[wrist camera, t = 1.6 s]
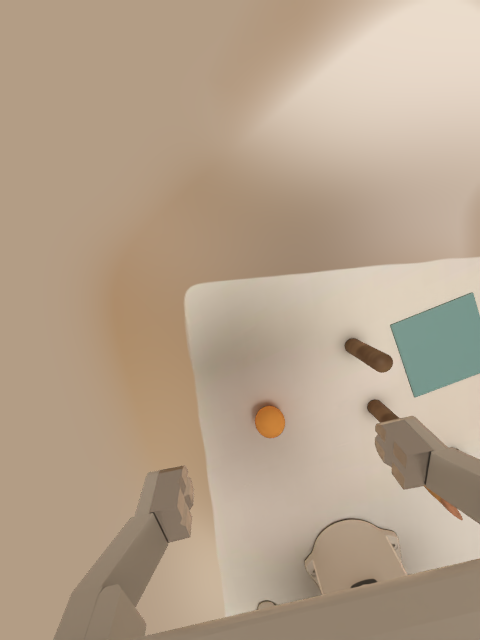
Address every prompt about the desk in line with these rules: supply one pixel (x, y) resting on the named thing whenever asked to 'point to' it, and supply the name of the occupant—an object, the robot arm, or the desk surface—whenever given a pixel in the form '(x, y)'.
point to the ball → (270, 422)
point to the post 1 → (369, 355)
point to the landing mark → (440, 344)
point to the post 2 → (380, 411)
